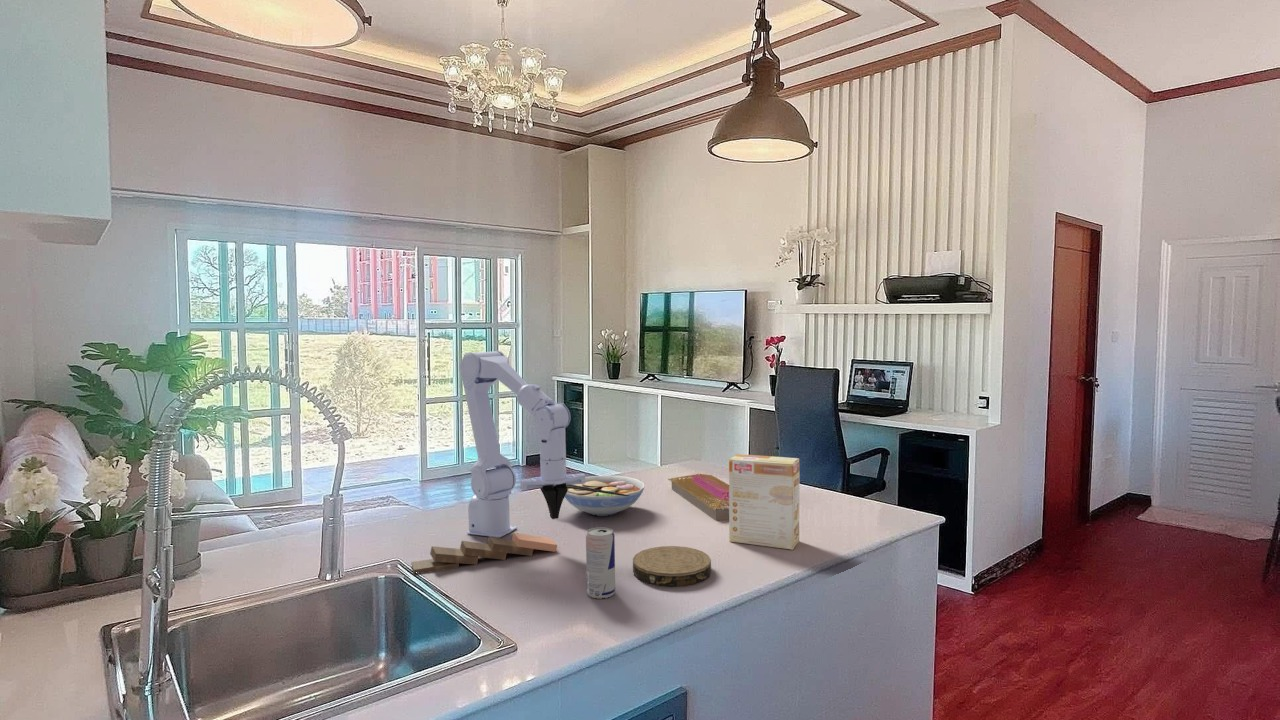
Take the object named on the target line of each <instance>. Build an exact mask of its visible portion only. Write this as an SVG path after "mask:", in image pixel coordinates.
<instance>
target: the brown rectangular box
mask: <svg viewBox="0 0 1280 720" xmlns="http://www.w3.org/2000/svg"><path fill="white" fill-rule="evenodd" d="M667 480H668V481H670V482H671V491H673V492H674V493H676V494H677V495H679V496H680V497H681V498H683V499H684V500H686V501H687V502H688V503H690V504H691V505H692V506H695V508H697V509H698V510H700V511H702V512H703V513H704V514H705V515H707V516H708V517H710V518H711V519H712V520H714V521H716V522H717V521H725V520H729V483H726V482H724V481H723V480H721V479H720V478H718V477H716V476H714V475H712V474H707V473H706V474H704V473H695V474H689V475H683V476H676V477H671V478H670V477H669V478H667Z"/></svg>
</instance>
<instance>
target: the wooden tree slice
mask: <svg viewBox="0 0 1280 720" xmlns="http://www.w3.org/2000/svg"><path fill="white" fill-rule="evenodd" d="M711 568H712V559H711V557H710V556H709V555H708V554H707V553H706V552H704V551H702V550H699V549H696V548H693V547H687V546H680V545H679V546H676V545H665V546H656V547H650V548H647V549H643V550H641V551H639V552H638V553H636V554H635V555H634V556H633V558H632V572H633V573H634V574H633V576H634V578H636V580H637V581H639V580H640V581H639V582H642V583H644V582H645V583H644V584H646V583H647V584H646V585H650V584H651V585H650V586H654V585H655V586H656V587H663V588H684V587H685V588H686V587H690V586H696V585H698V584H701V583H704V582H705V581H706V580H707V579H709V578H710V576H711V573H712V569H711Z"/></svg>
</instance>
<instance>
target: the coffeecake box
mask: <svg viewBox="0 0 1280 720" xmlns="http://www.w3.org/2000/svg"><path fill="white" fill-rule="evenodd" d="M800 473H801V472H800V458H797V457H785V456H770V455H758V454H757V455H756V454H741V453H738V454H737V453H736V454H735V455H734V456H732V457H730V458H729V460H728V485H729V506H728V507H729V519H728V521H729V522H728V523H729V524H728V525H729V526H728V532H729V533H728V535H729V536H728V538H729V542H730V543H737V544H738V543H739V544H747V545H754V546H762V547H770V548H777V549H785V550H791V551H793V550H794V549H795V548H796V546H797V545H798V544H799V542H800V505H801V504H800V489H801V488H800V481H801V480H800Z"/></svg>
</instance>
